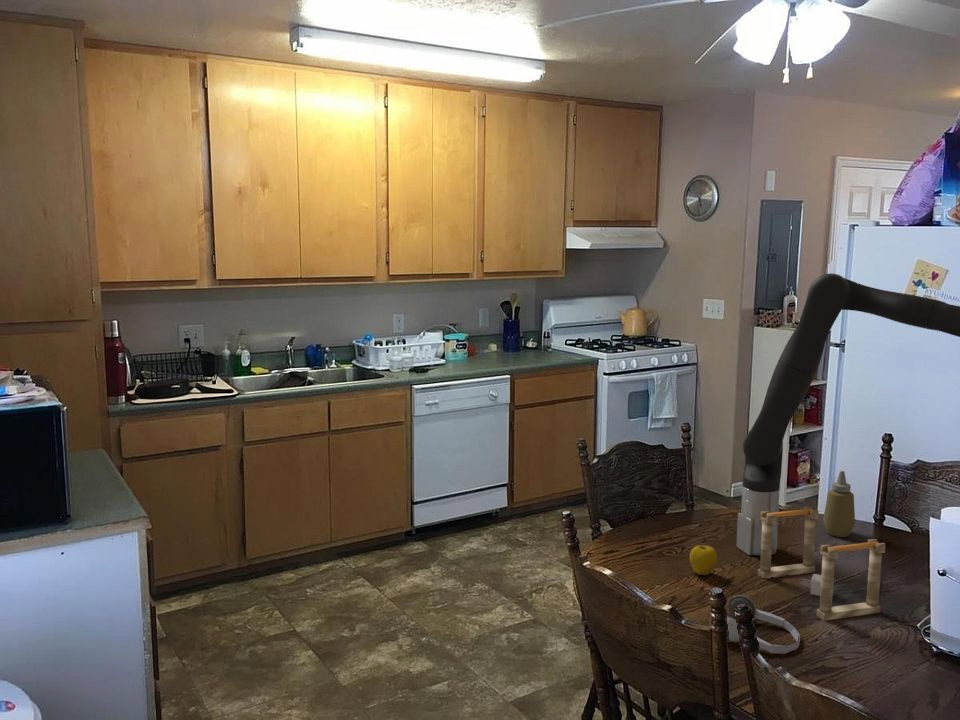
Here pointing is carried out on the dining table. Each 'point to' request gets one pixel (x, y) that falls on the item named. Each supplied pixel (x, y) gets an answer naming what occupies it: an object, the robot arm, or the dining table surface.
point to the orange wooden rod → (790, 513)
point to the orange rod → (854, 546)
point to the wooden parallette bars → (827, 569)
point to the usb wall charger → (814, 584)
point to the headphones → (765, 617)
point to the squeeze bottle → (839, 508)
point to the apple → (703, 559)
